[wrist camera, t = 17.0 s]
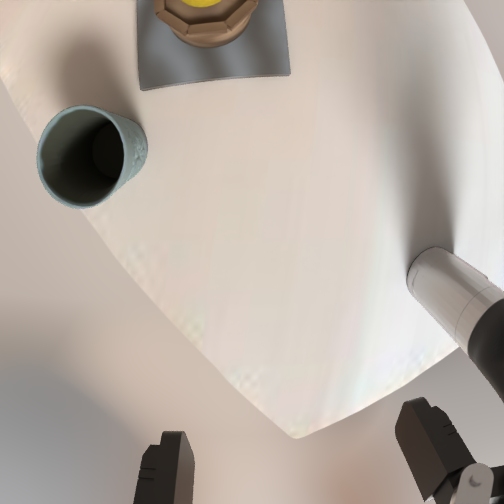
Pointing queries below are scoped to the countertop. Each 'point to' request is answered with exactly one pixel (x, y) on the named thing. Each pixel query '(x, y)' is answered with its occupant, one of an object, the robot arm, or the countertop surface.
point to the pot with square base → (210, 41)
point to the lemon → (200, 2)
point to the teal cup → (89, 155)
